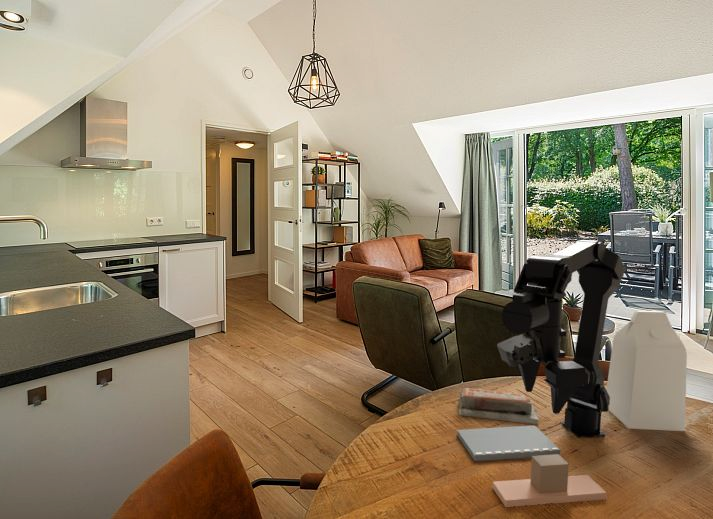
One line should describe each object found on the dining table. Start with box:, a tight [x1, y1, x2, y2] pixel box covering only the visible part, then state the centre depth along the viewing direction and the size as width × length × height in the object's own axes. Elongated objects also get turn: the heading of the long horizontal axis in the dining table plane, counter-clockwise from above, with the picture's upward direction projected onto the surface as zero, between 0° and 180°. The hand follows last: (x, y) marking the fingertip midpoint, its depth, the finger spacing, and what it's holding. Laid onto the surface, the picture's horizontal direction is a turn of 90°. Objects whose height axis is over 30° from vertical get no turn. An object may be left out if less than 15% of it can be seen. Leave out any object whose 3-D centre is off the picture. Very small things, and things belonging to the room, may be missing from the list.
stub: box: [492, 454, 607, 508], centre depth 73 cm, size 18×5×6 cm, turn 96°
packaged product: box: [458, 387, 539, 425], centre depth 105 cm, size 18×5×10 cm
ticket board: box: [456, 424, 562, 462], centre depth 89 cm, size 18×10×1 cm, turn 96°
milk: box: [606, 310, 688, 432], centre depth 100 cm, size 12×12×26 cm
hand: (541, 401), depth 81 cm, fingers open, 9 cm apart
